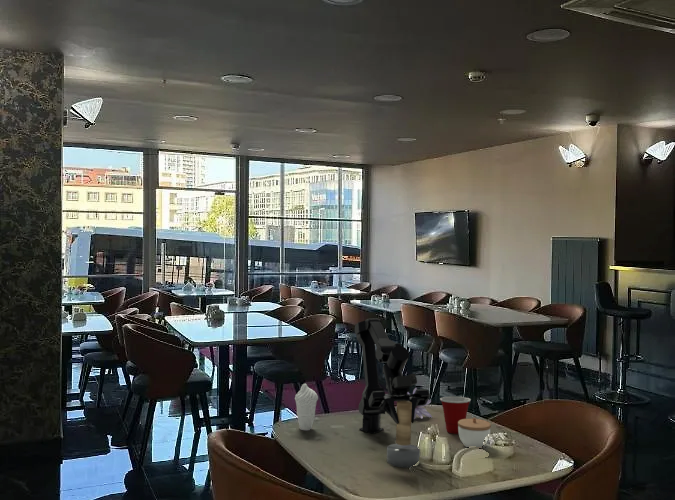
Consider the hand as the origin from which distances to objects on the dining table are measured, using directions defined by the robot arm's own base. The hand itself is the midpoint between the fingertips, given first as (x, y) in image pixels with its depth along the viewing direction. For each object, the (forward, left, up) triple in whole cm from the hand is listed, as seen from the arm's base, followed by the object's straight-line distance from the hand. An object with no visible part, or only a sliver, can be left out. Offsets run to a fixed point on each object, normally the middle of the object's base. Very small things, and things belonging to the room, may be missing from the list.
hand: (405, 422), depth 195 cm
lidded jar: (-30, +7, -12) cm, 33 cm away
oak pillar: (-1, -1, -7) cm, 7 cm away
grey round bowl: (-1, -1, -12) cm, 12 cm away
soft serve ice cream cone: (-5, -46, -12) cm, 48 cm away
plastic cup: (-40, -6, -12) cm, 42 cm away
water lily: (-45, -25, -13) cm, 53 cm away
